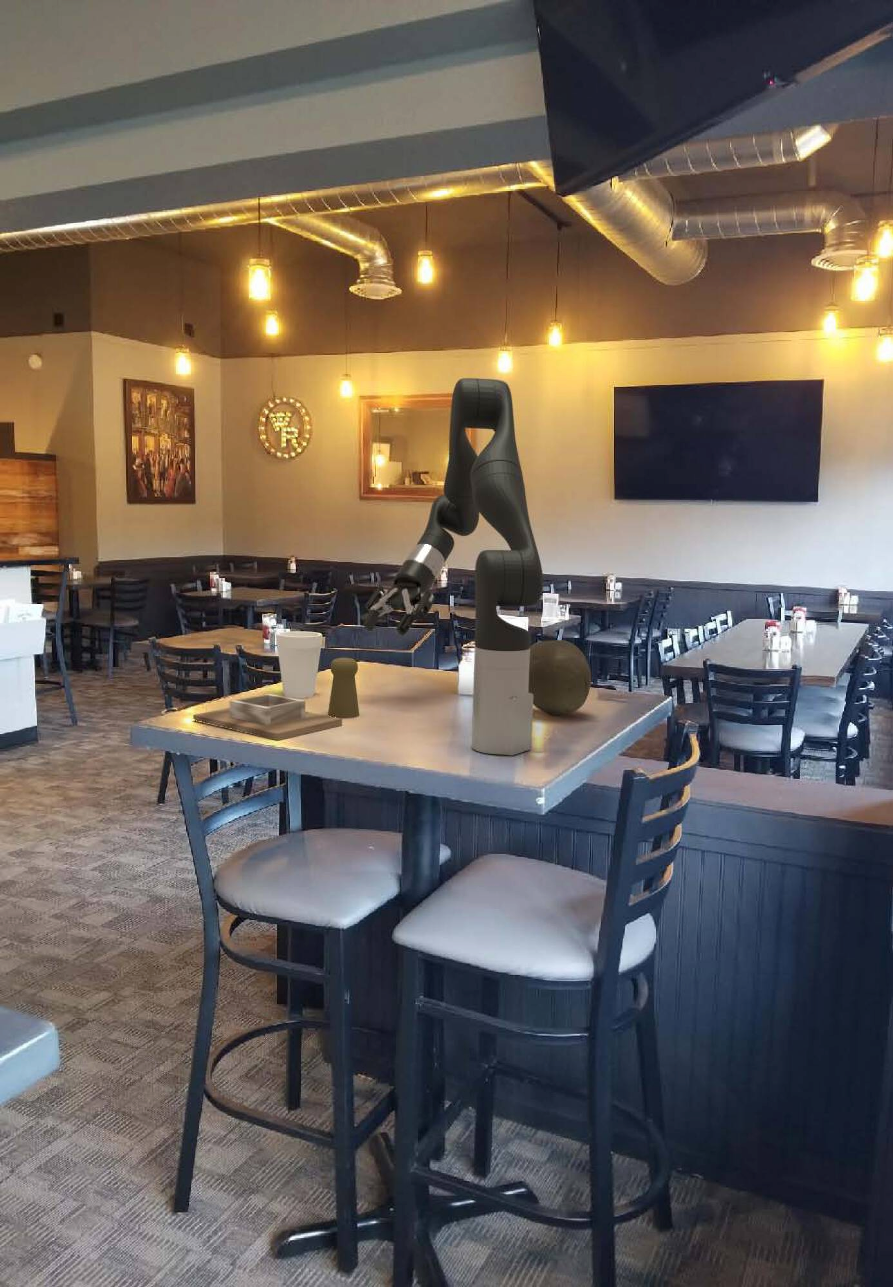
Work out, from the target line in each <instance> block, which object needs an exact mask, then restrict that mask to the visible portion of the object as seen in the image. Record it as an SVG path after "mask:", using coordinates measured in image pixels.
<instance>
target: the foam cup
mask: <svg viewBox="0 0 893 1287" xmlns="http://www.w3.org/2000/svg"><path fill="white" fill-rule="evenodd" d="M275 636H276V638H275V639H276V647H277V654H278V661H279V669H280V676H281V677H280V678H281V684H282V693H283V696H284V697H289V698H294V699H307V698H306V697H308V698H312V697H314V696H315V691H316V684H317V678H318V673H319V672H318V671H319V664H320V656H321V649H322V646H323V634H322V633H321V632H314V631H303V630H302V631H301V630H297V631H296V630H293V631H282V632H277V633H276V635H275Z"/></svg>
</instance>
